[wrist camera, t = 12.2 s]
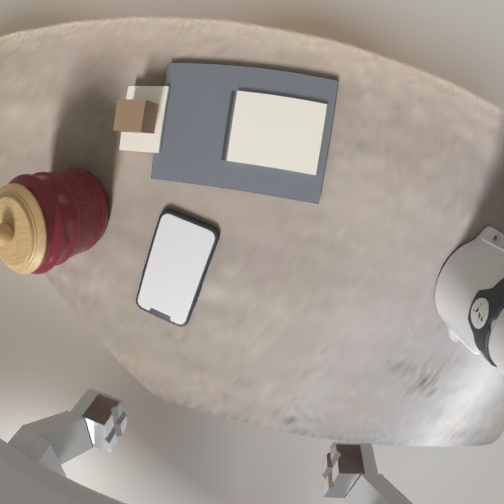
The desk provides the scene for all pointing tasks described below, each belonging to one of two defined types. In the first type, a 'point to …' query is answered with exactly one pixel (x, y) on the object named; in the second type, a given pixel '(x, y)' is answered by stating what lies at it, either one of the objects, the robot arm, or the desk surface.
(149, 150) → the tan cube with base
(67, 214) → the canister
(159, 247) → the smartphone
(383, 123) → the desk surface
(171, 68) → the board
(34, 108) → the desk surface
